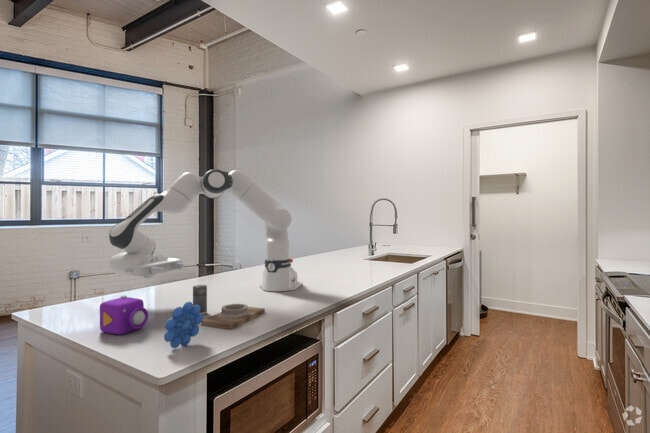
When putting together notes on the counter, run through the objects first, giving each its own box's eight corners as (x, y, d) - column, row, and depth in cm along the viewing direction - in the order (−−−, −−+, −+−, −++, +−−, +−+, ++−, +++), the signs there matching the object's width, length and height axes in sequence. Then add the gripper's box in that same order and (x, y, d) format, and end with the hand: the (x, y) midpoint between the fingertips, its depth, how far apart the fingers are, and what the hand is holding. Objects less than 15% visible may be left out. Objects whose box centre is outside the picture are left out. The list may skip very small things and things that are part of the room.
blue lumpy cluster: (193, 336, 108) (193, 296, 108) (207, 341, 104) (207, 299, 104) (155, 348, 99) (155, 304, 98) (169, 354, 95) (169, 308, 94)
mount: (237, 309, 137) (237, 298, 137) (264, 312, 133) (264, 301, 133) (201, 324, 119) (201, 312, 119) (231, 329, 114) (231, 316, 114)
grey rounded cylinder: (199, 311, 134) (199, 284, 134) (209, 312, 133) (209, 285, 133) (190, 314, 130) (189, 287, 130) (200, 316, 128) (200, 288, 128)
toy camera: (133, 338, 107) (132, 304, 106) (93, 335, 109) (93, 302, 109) (157, 326, 117) (156, 295, 117) (120, 323, 120) (120, 293, 120)
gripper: (121, 261, 131) (150, 263, 126) (165, 255, 150) (192, 256, 145) (121, 279, 131) (150, 282, 126) (165, 270, 150) (192, 272, 145)
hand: (173, 268), depth 135 cm, fingers open, 8 cm apart
